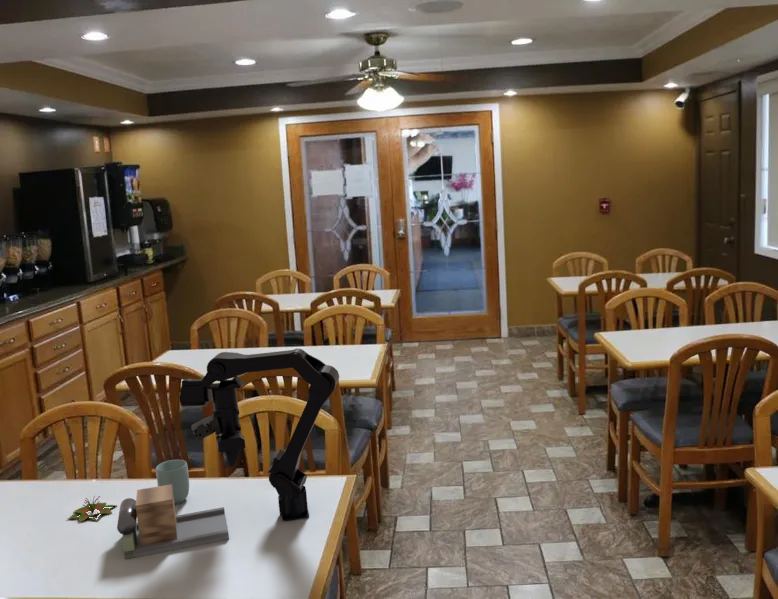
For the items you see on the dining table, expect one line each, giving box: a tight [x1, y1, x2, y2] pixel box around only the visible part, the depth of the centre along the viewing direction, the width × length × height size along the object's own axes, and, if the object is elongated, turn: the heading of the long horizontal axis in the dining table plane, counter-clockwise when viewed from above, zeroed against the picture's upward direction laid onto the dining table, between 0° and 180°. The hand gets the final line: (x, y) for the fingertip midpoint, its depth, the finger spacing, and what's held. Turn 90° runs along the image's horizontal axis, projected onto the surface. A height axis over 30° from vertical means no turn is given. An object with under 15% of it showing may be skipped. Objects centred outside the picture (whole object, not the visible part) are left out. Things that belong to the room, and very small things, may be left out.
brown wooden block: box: [135, 484, 177, 546], centre depth 174 cm, size 8×9×10 cm
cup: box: [155, 459, 190, 505], centre depth 194 cm, size 8×8×10 cm
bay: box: [116, 497, 230, 560], centre depth 175 cm, size 24×14×9 cm, turn 106°
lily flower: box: [67, 495, 118, 524], centre depth 191 cm, size 12×12×5 cm
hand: (232, 466), depth 182 cm, fingers closed
